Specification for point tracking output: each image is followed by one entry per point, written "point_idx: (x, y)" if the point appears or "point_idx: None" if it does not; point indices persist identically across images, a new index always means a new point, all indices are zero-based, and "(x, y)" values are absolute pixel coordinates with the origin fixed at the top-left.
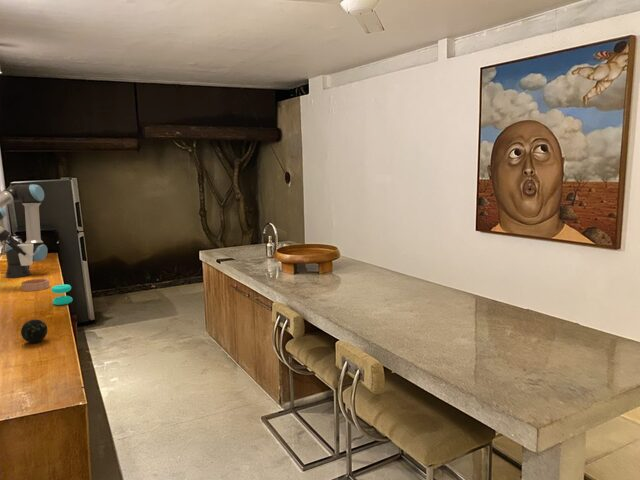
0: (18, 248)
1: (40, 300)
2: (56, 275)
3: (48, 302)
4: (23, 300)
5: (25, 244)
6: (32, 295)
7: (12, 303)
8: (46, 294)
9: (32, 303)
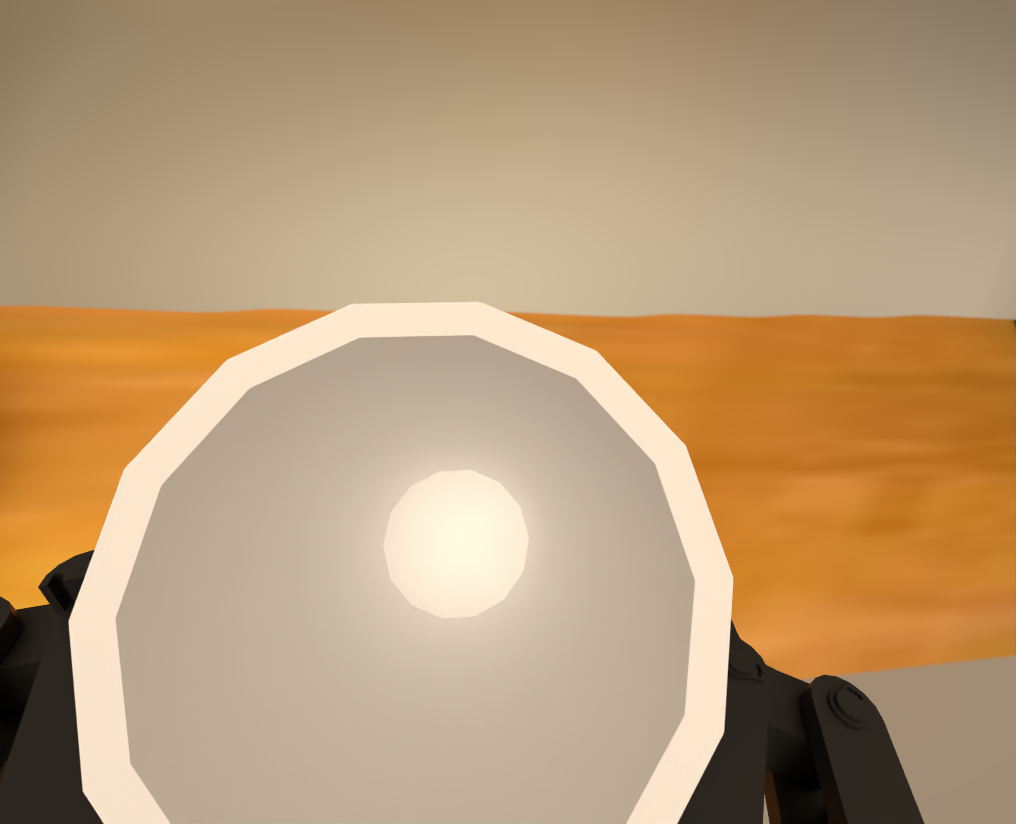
0: (894, 778)
1: (941, 439)
2: (63, 313)
3: (1012, 393)
4: (895, 546)
5: (150, 583)
6: (768, 492)
7: (952, 614)
8: (783, 402)
9: (1002, 485)
